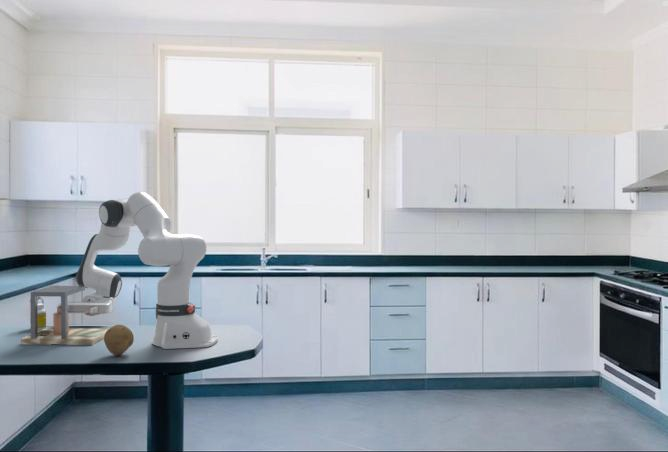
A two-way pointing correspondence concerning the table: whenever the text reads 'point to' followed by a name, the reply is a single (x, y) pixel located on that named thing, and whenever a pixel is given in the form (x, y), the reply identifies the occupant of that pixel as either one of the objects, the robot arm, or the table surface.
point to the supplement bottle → (41, 316)
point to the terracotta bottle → (58, 321)
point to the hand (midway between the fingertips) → (76, 311)
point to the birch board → (74, 338)
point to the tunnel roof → (63, 293)
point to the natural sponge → (118, 339)
